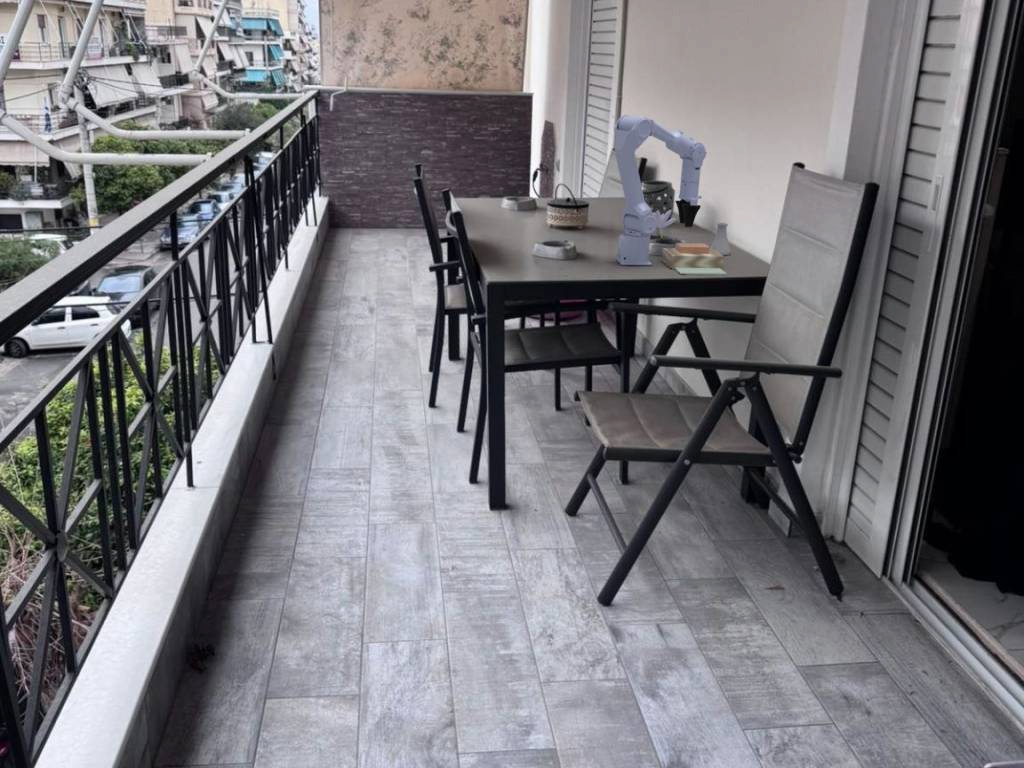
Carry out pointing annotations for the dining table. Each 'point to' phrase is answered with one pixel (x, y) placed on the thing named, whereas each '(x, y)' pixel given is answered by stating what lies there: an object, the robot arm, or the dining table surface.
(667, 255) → the plate
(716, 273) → the mat
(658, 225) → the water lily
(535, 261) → the dining table surface
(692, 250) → the tile
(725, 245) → the flask
